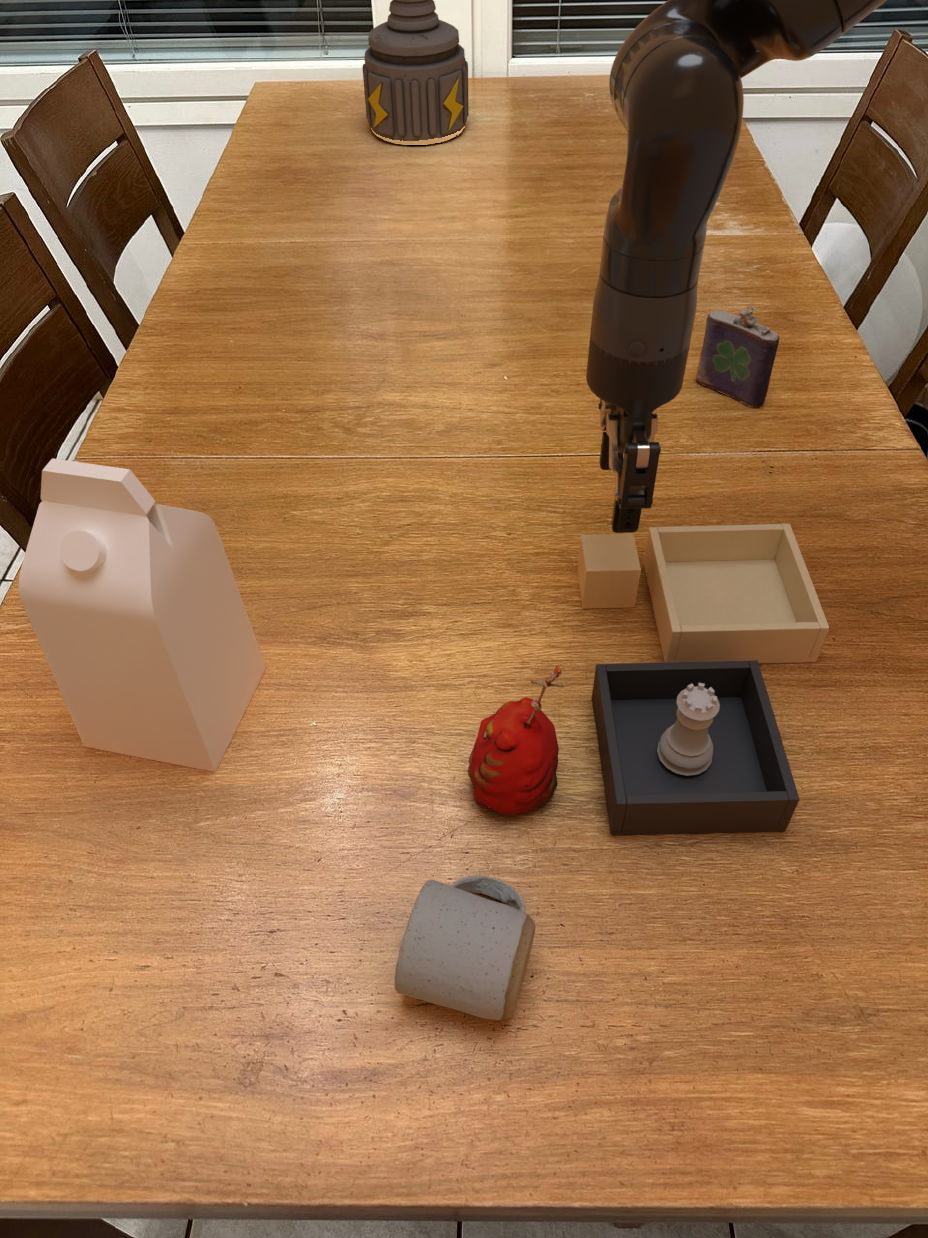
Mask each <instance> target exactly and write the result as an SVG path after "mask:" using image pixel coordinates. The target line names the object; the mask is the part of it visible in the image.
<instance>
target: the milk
mask: <svg viewBox="0 0 928 1238" xmlns="http://www.w3.org/2000/svg"><path fill="white" fill-rule="evenodd" d="M40 500H41V502H39V504H38V508H37V510H36V515H35V518H34V521H33V525H32V528H31V532H30V536H29V539H28V542H27V545H26V549H25V553H24V556H23V559H22V563H21V567H20V571H19V577H18V585H17V587H18V595H19V600H20V602H21V605H22V607H23V609H24V613H25V614H26V616H27V619H28V621H29V624H30V625H31V628H32V630H33V632H34V635H35V638H36V639H37V642H38V644H39V646H40V648H41V651H42V653H43V656H44V658H45V660H46V662H47V665H48V667H49V670H50V673H51V675H52V676H53V679H54V681H55V683H56V685H57V688H58V690H59V693H60V695H61V697H62V700H63V702H64V704H65V706H66V709H67V711H68V713H69V716H70V718H71V720H72V723H73V725H74V727H75V729H76V732H77V734H78V737H79V739H80V741H81V744H82V746H83V747H84V748H90V749H94V750H100V751H105V752H108V753H109V752H110V753H114V754H120V755H126V756H130V757H135V758H142V759H145V760H150V761H156V762H162V763H166V764H172V765H176V766H180V767H181V766H182V767H187V768H192V769H197V770H202V771H207V772H212V773H217V771H218V769H219V766H220V765H221V763H222V761H223V758H224V756H225V755H226V752H227V751H228V748H229V746H230V743H231V742H232V739H233V738H234V737H235V736H234V735H235V733H236V732H237V729H238V727H239V725H240V723H241V721H242V719H243V717H244V716H245V713H246V711H247V708H248V707H249V705H250V702H251V700H252V698H253V696H254V694H255V692H256V690H257V688H258V686H259V684H260V682H261V680H262V678H263V675H264V673H265V671H266V669H267V665H266V662H265V658H264V657H263V654H262V650H261V648H260V645H259V643H258V640H257V637H256V635H255V632H254V629H253V626H252V622H251V620H250V618H249V617H250V616H249V614H248V612H247V609H246V606H245V603H244V600H243V598H242V595H241V592H240V589H239V586H238V583H237V580H236V578H235V575H234V573H233V570H232V567H231V564H230V561H229V559H228V555H227V553H226V550H225V547H224V543H223V541H222V539H221V536H220V533H219V530H218V527H217V525H216V523H215V521H214V519H213V518H212V517H211V516H210V515H209V514H206V513H204V512H202V511H197V510H193V509H188V508H182V507H177V506H171V505H165V504H160V503H156V501H155V499H154V498H153V496H152V495H151V493H149V492H148V490H147V489H146V487H145V486H144V485H143V483H142V482H141V481H140V480H139V478H137V476H136V475H135V473H133V471H132V469H130V468H125V467H116V466H111V465H110V466H109V465H101V464H96V463H89V462H81V461H73V460H67V459H66V460H65V459H59V458H53V457H52V458H51V459H50V460H49V461H48V463H46V465H45V466H44V468H42V470H41V482H40Z"/></svg>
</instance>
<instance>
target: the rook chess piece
mask: <svg viewBox="0 0 928 1238" xmlns="http://www.w3.org/2000/svg"><path fill="white" fill-rule="evenodd" d="M704 686H705V684H703V683H698V686H696V687H694V685H693V684H690V685H688V686H687V688H686V689H684V690H682V691H681V692H680V693H679V695H678V696H677V702H676V703H677V705H678V709H677V717H678V718H677V720H676V722H675V724H673V725H672V726H671V727H669V728H667V729H666V731H665V732H664V733H663V735H662V736H661V739H660V741H659V743H658V749H657V752H658V755H659V758H660V761H661V762H662V763H663V764H664V765H665V766H666V768H668V769H670V770H671V771H673V772H675V773H677V774H681V775H686V776H688V775H697V774H699V773H701V772H703V771H705V770H707V768H708V767H709V765H710V764H711V762H712V756H713V743H712V741H711V738H710V736H709V734H708V727H709V726H710V725H711V723H712V722H713V717H715V716H716V714H717V713H718V712H719V707H720V704H719V701H718V699H717V696H715V695H714V693H715V691H714V690H713V689H712V688H711V687H710V688H709V689H706V688H704Z"/></svg>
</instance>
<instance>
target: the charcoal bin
mask: <svg viewBox="0 0 928 1238" xmlns="http://www.w3.org/2000/svg"><path fill="white" fill-rule="evenodd" d="M698 683H703V684H705V686H704V688H706V689H709V688H710V687H711V688H712V689H713V690H714V691H715V693H714V695H715V696H717V699H718V701H719V704H720V707H719V712H718V713H717V714H716V716H715V717H713V722H712V723H711V725H710V726H709V727H708V734H709V736H710V738H711V741H712V743H713V756H712V762H711V764H710V765H709V767H708V768H707V770H705V771H703V772H701V773H699V774H697V775H688V776H686V775H681V774H677V773H675V772H673V771H671V770H670V769H668V768H666V766H665V765H664V764H663V763H662V762H661V761H660V758H659V755H658V752H657V749H658V743H659V741H660V739H661V736H662V735H663V733H664V732H665V731H666V729H667V728H669V727H671V726H672V725H673V724H675V722H676V720H677V718H678V717H677V709H678V705H677V703H676V702H677V696H678V695H679V693H680V692H681V691H682V690H684V689H686V688H687V686H688V685H690V684H693V685H694V687H696V686H698ZM591 705H592V711H593V718H594V724H595V732H596V739H597V747H598V748H597V749H598V755H599V763H600V768H601V769H600V770H601V776H602V783H603V790H604V798H605V805H606V813H607V820H608V826H609V827H608V828H609V834H610V836H645V835H647V836H649V835H689V834H691V835H692V834H693V835H694V834H728V833H729V834H733V833H770V832H771V833H774V832H786V830H787V828H788V826H789V824H790V823H791V820H792V817H793V815H794V814H795V811H796V809H797V806H798V804H799V802H800V796H799V793H798V790H797V787H796V783H795V780H794V777H793V773H792V770H791V766H790V763H789V759H788V757H787V753H786V750H785V747H784V743H783V740H782V736H781V733H780V730H779V729H780V728H779V726H778V723H777V719H776V716H775V714H774V713H775V712H774V710H773V706H772V703H771V700H770V696H769V693H768V689H767V687H766V684H765V680H764V677H763V673H762V670H761V667H760V663H758V660H749V661H708V662H666V663H665V662H630V663H629V662H628V663H627V662H626V663H596V664H595V670H594V677H593V684H592V693H591Z"/></svg>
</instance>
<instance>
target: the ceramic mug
mask: <svg viewBox="0 0 928 1238" xmlns="http://www.w3.org/2000/svg"><path fill="white" fill-rule="evenodd" d="M478 894H481V895H485V896H487V897H489V898H492V899H494V900H491V899H488V898H485V897H482V896H480V895H478ZM495 900H498V901H500V902H498V901H495ZM535 934H536V923H535V921H534V919H533V918H532V917H531V916H530V915H528V914H527V913H526V905H525V901H524V898H523V897H522V896H521V893H519V892H518V890H517V889H515V888H514V887H513V886H512V885H510V884H509V883H506V882H505V881H503V880H500V879H497V878H496V877H493V876H487V875H481V874H479V875H477V874H475V875H474V874H473V875H467V876H465V877H460V878H459V879H457V880H455V881H454V882H452V883H451V884H450V885H449V884H446V883H444V882H441V881H438V880H435V879H428V880H426V882H424V884H423V885H422V887H421V889H420V891H419V892H418V895H417V897H416V898H415V902H414V904H413V907H412V909H411V912H410V914H409V918H408V921H407V924H406V927H405V930H404V933H403V936H402V938H401V939H402V940H401V942H400V945H399V951H398V957H397V961H396V966H395V970H394V989H395V992H397V993H398V994H400V995H404V996H407V997H410V998H414V999H417V1000H420V1001H424V1002H428V1003H430V1004H434V1005H438V1006H440V1007H444V1008H447V1009H451V1010H456V1011H460V1012H463V1013H466V1014H468V1015H472V1016H474V1017H478V1018H481V1019H486V1020H494V1021H495V1020H496V1021H506V1020H508V1019H510V1018H511V1017H513V1015H514V1013H515V1011H516V1008H517V1004H518V1002H519V998H520V994H521V991H522V988H523V987H522V986H523V983H524V980H525V973H526V971H527V968H528V964H529V959H530V954H531V951H532V946H533V943H534V939H535Z"/></svg>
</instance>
